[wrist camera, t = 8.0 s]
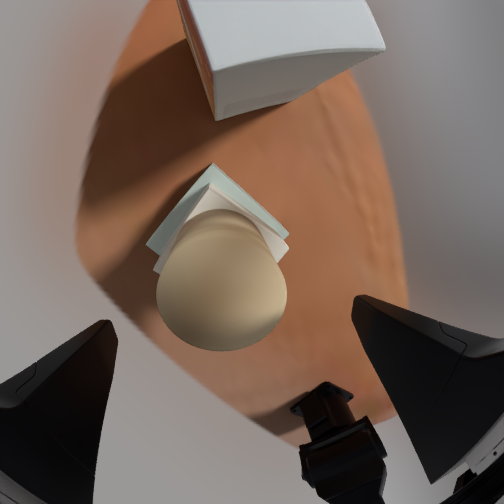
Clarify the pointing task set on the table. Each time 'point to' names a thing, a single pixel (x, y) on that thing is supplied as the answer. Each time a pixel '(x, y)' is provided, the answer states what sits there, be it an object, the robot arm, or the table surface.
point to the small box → (274, 47)
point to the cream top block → (220, 200)
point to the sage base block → (189, 199)
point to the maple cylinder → (221, 283)
